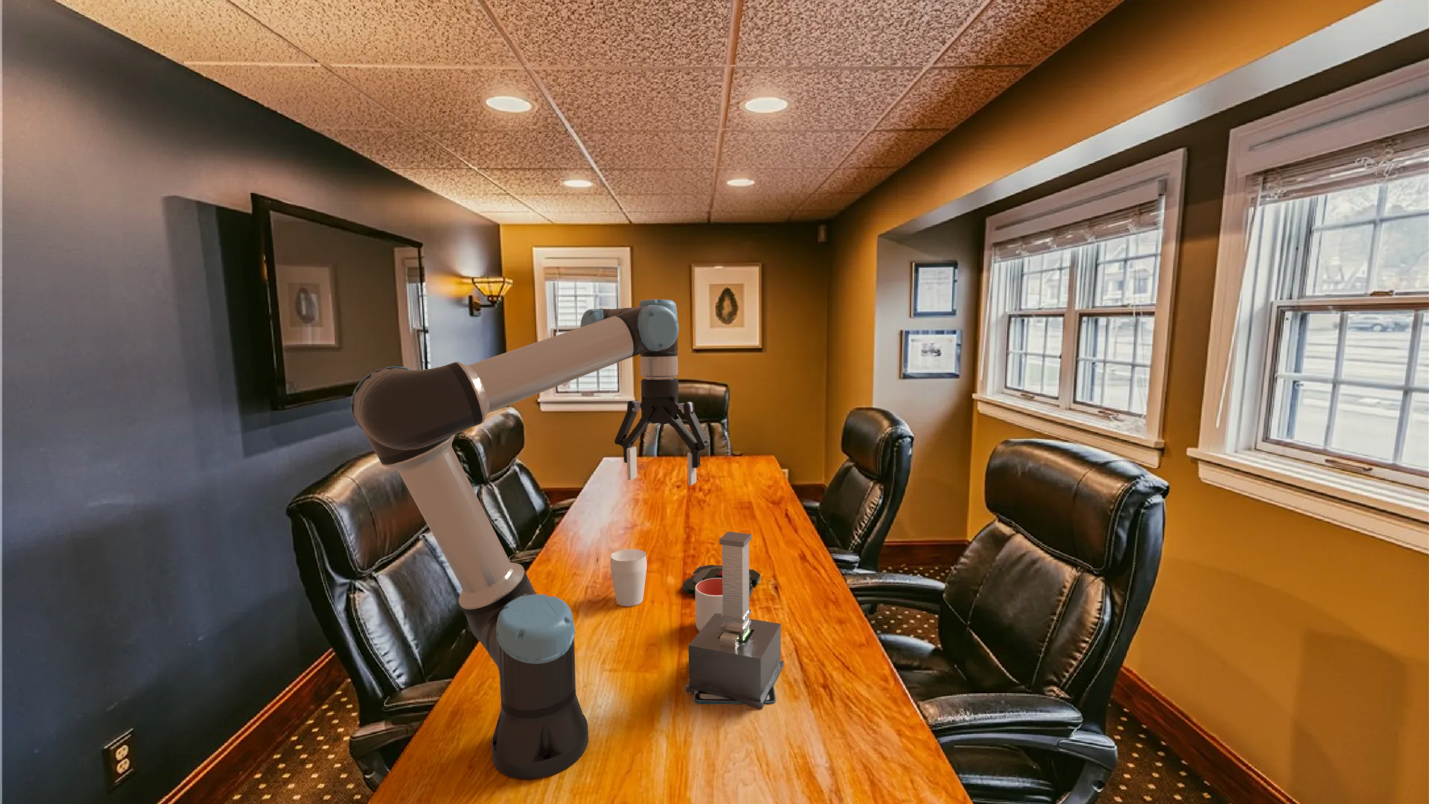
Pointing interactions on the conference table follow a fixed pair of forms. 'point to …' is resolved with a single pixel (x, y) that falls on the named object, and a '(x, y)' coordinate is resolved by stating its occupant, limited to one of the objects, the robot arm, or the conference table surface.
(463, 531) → the robot arm
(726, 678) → the housing
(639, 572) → the cup
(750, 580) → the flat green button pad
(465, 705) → the conference table surface
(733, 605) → the column
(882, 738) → the conference table surface
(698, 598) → the cup
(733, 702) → the smartphone
